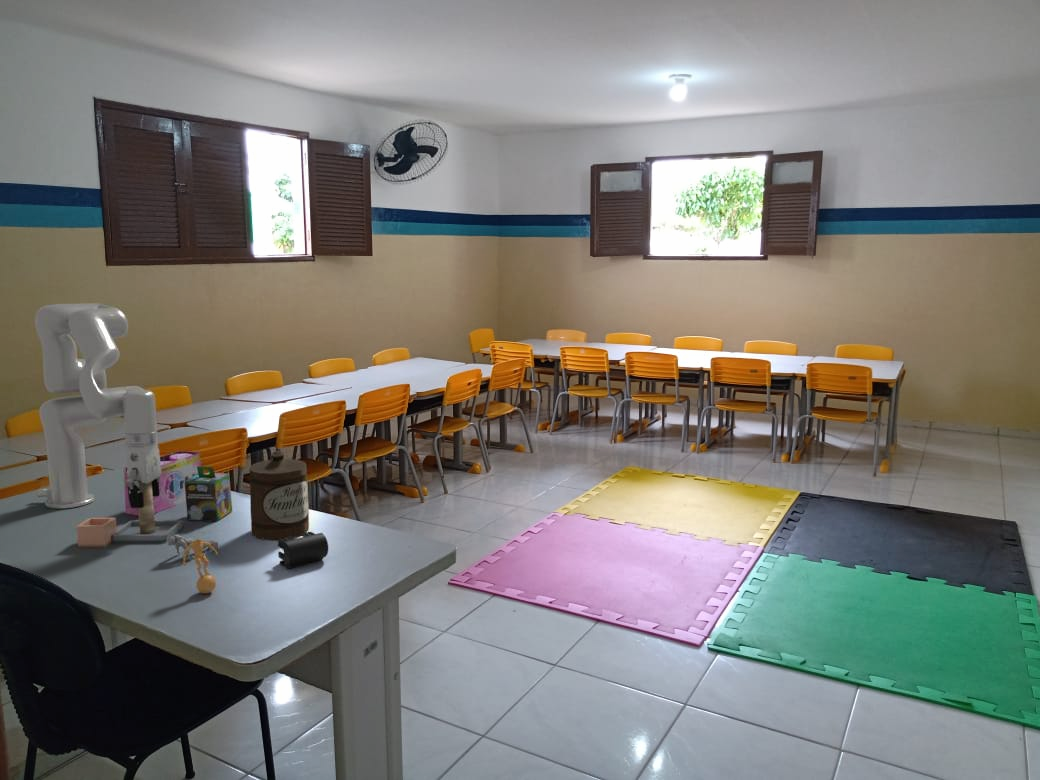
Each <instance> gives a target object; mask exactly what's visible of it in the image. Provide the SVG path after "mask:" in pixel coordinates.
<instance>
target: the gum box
mask: <svg viewBox="0 0 1040 780" xmlns="http://www.w3.org/2000/svg"><path fill="white" fill-rule="evenodd" d="M160 463H161V475H160V476H159V481H157V482H159V493H160V495H159V496H153V508H154V514H157V513H160V512H162V511H164V510H167V509H170V508H173V507H175V506H178V505H181V504H184V503H186V494H185V481H187V480H189V479H190V478H191V477H193V476H196V475H198V470H197V467H198V466H202V463H201V452H196V451H187V450H186V451H185V450H180V451H175V452H172V453H168V454H166V455H161V456H160ZM123 478H124V479H123V483H124V484H123V485H124V505H125V506H124V507H125V514H128V515H133V516H139V511H138V508H131V505H130V493H129V489H128V484H127V478H128V472H127V466H125V467H123Z"/></svg>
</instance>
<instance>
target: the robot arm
mask: <svg viewBox="0 0 1040 780" xmlns="http://www.w3.org/2000/svg"><path fill="white" fill-rule="evenodd" d="M34 324H35V326H34V327H35V329H36V334H37V335H38V338H39V341H40V344H41V348H42V365H43V366H42V367H43V368H42V369H43V370H42V371H43V380H44V386H45V389H46V390H47V391H48V392H49V393H52V394H56V395H57V394H61V395H62V394H70V393H72V394H73V393H80V394H79V395H71V396H69V395H68V396H64V397H63V396H62V397H55V398H51V399H48V400H47V401H44V402H43V403H42V404H41V405H40V408H39V418H40V422H41V425H42V429H43V433H44V439H45V445H46V455H47V457H46V458H47V467H48V478H49V488H39V489H38V490H37V497H39V498H44V497H46V500H45V501H44V504H45V506H46V508H49V509H72V508H77V507H81V506H85V505H88V504H90V503H92V502H94V500H95V495H94V494H92V493H90V492H88V490H89V489H88V477H87V467H86V465H87V464H86V455H85V454H86V453H85V445H84V444H85V443H84V441H83V439H82V438H81V437H80V436H79V435H78V434H77V433H75V431H74V430H77V429H80V428H86V427H92V426H98V425H101V424H103V423H104V422H105V421H106V420H107V419H108V418H116V417H123V423H124V424H123V427H124V439H125V446H127V449H126V450H127V451H126V452H127V454H126V456H127V457H126V458H127V459H126V460H127V461H126V462H127V463H126V465H127V466H126V467H127V472H128V478H127V484H128V489H129V493H130V505H131V508H143V507H144V494H143V492H142V488H143V484H144V483H145V484H148V483H150V482H152V495H153V496H159V495H160V493H159V482H157V481H159V476H160V475H161V463H160V457H161V455H160V448H159V444H158V442H159V440H158V426H157V425H158V423H157V407H156V406H157V405H156V396H155V393H154V392H153V391H151V390H148V389H144V388H142V387H141V386H139V385H128V386H127V385H126V386H120V387H119V386H118V387H117V386H116V387H111V388H109V387H108V386H107V385H108V384H107V382H108V381H107V375H106V369H109V368H111V367H112V366H113V365H114V364H116V363H117V362H118V360H119V359H120V354H121V353H120V350H119V348H118V346H117V344H116V342H115V340H114V339H118V338H123V337H125V336H126V335H127V334H128V331H129V322H128V318H127V317H126V315H125V314H124V313H123V311H122V310H120V309H119V308H118V307H114V306H111V305H107V304H102V303H98V302H97V303H96V302H92V303H91V302H90V303H87V302H86V303H56V304H47V305H44V306H41V307H40V308H38V310H37V311H36V313H35V316H34ZM71 335H72V336H73V338H72V336H71ZM77 347H78V349H79V351H80V354H81V356H82V357H83V358H78V349H77ZM136 480H141V481H136ZM137 485H139V487H137Z"/></svg>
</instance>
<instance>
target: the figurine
mask: <svg viewBox="0 0 1040 780" xmlns="http://www.w3.org/2000/svg"><path fill="white" fill-rule="evenodd" d="M203 545H209V547H210V548H211V549H210V550H212V551H213V550H214V551H215V553H216V555H217V556H218V555H219V554H218V552H217V551H218V550H217V551H216V550H215V549H214V548H213V547H212V546H211V544H210V543H207V542H203V541H202V539H201V538H197V539H193V541H192V542H191V544H190V545H189V547H188V548H187V549H184V551H183V552H182V554H183V555H182V557H183V559H182V560H183V562H182V565H183V567H186V566H187V564H188V563H187V562H186V559H187V555H186V552H187V551H189V552H190V551H191V550H192V552H193V553H194V556H193V561H194V562H195V564H196V565H197V569H196V570H197V572H198V574H199V578H197V580H196V583H195V585H196V589H197V590H198V592H199V593H200V594H209V593H212V592H213V591H214V589H215V588H216V586H217V581H216V579H215V577H214V576H213V575H211V574H210V573H209V572H208V570H207V568H208V566H209V564H210V562H209V560H208V559H207V557H206V553H205V552H203V550H204V549H203ZM214 551H213V552H214ZM202 563H204V565H203V570H204V573H205V574H203V573H202V571H201V568H202Z"/></svg>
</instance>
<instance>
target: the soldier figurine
mask: <svg viewBox="0 0 1040 780" xmlns="http://www.w3.org/2000/svg"><path fill="white" fill-rule="evenodd" d="M193 540H194V539H193V538H192V537H187V538H185V537H184V536H182V535H179V534H177V533H176V534H175V535H173V536H171V537H170V538H169V539H168V541H167V545H168V546H169V547H171V545H172V546H175V549H176V550H177V551H176V554H177V555H179V556H181V552H180V547H181V548H182V549H184V550H185V549H187V548H188V547H189V545H190V544H191V542H192V541H193ZM201 541H203V542H207V543H210V544H211V546H212V547H213V548H214V549H215V550H216V551H218V546H219V543H218V542H217V541H215V540H213V539H211V540H209V539H207V540H205V539H203V540H202V539H201ZM204 549H209V550H212V549H211V548H210V547H209V545H203V549H202V550H204ZM212 551H213V552H215V551H214V550H212ZM215 553H216V552H215ZM186 559H188V560H189V561H190V562H191V561H192V557H191V556H190V550H189V551H187V552H186Z"/></svg>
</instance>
